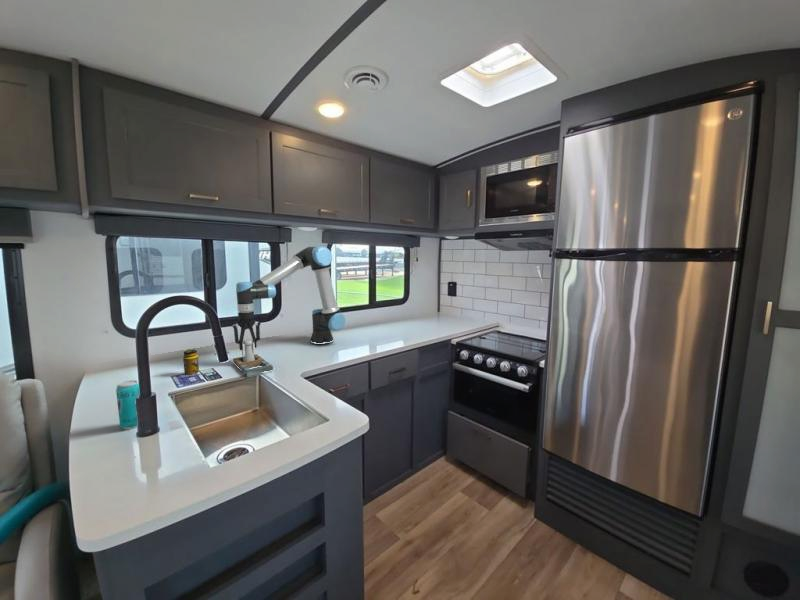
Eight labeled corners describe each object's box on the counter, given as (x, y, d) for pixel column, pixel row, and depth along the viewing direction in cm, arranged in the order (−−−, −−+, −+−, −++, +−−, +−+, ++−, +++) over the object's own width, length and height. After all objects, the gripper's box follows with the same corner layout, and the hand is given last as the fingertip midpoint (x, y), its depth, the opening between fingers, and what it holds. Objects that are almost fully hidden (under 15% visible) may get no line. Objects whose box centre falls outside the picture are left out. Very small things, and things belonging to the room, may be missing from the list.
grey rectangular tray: (233, 363, 170) (233, 358, 170) (257, 359, 178) (256, 354, 177) (247, 377, 150) (247, 371, 150) (273, 371, 158) (272, 365, 158)
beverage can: (120, 425, 106) (115, 382, 104) (142, 420, 110) (138, 378, 108) (120, 432, 102) (115, 388, 100) (143, 426, 106) (138, 383, 104)
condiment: (201, 374, 154) (200, 350, 152) (181, 379, 148) (179, 354, 146) (198, 371, 159) (196, 347, 157) (177, 375, 153) (175, 351, 151)
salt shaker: (248, 366, 165) (247, 342, 164) (240, 365, 167) (239, 341, 166) (257, 363, 171) (256, 339, 169) (249, 361, 173) (248, 338, 171)
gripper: (229, 314, 157) (232, 359, 160) (265, 310, 168) (267, 353, 171) (225, 312, 163) (228, 356, 166) (260, 309, 174) (263, 350, 177)
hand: (248, 354), depth 168 cm, fingers closed on salt shaker, 4 cm apart
